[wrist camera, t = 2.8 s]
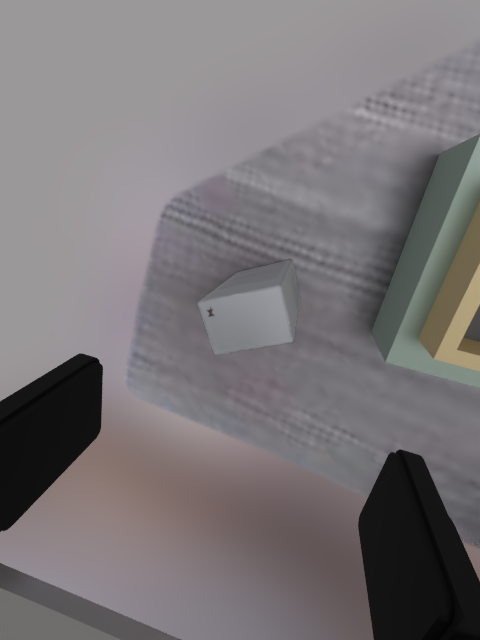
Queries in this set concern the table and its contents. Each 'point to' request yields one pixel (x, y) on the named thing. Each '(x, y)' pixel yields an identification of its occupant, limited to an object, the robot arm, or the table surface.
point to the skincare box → (252, 309)
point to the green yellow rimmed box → (439, 277)
